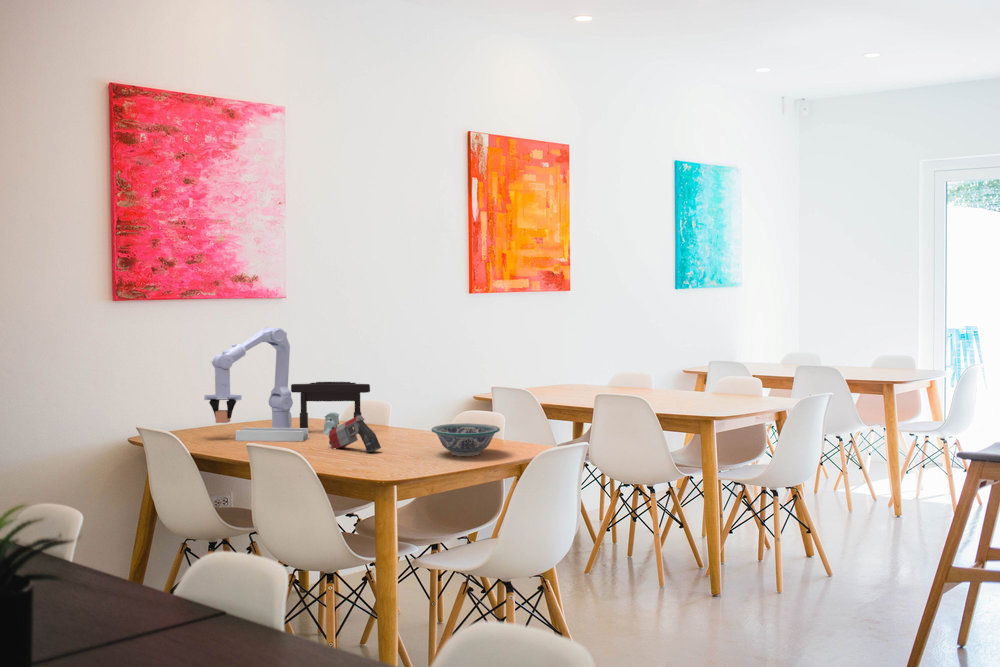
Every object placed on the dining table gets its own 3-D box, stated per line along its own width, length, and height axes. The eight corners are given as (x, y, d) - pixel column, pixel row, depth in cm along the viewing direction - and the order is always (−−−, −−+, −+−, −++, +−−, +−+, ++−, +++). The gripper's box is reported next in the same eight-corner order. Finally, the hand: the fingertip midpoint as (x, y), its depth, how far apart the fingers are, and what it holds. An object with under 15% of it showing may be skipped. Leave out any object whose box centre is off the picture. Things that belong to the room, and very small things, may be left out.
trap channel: (242, 437, 391) (242, 427, 390) (308, 438, 389) (308, 428, 388) (235, 440, 382) (235, 430, 382) (302, 441, 380) (302, 431, 380)
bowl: (429, 460, 340) (429, 433, 340) (433, 448, 365) (433, 423, 365) (500, 460, 341) (500, 433, 340) (499, 448, 366) (499, 423, 365)
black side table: (367, 384, 395) (286, 384, 395) (367, 435, 396) (287, 435, 396) (372, 380, 411) (294, 380, 411) (372, 429, 412) (295, 429, 412)
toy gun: (344, 466, 368) (331, 429, 371) (383, 447, 357) (369, 409, 360) (335, 468, 364) (322, 431, 367) (373, 449, 353) (360, 410, 355)
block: (230, 421, 389) (219, 421, 389) (230, 410, 388) (219, 410, 389) (226, 422, 384) (215, 422, 385) (226, 411, 384) (215, 411, 384)
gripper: (201, 385, 382) (201, 419, 383) (236, 385, 381) (237, 419, 382) (207, 383, 390) (208, 416, 390) (242, 383, 389) (243, 417, 389)
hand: (223, 418), depth 387 cm, fingers closed on block, 4 cm apart
